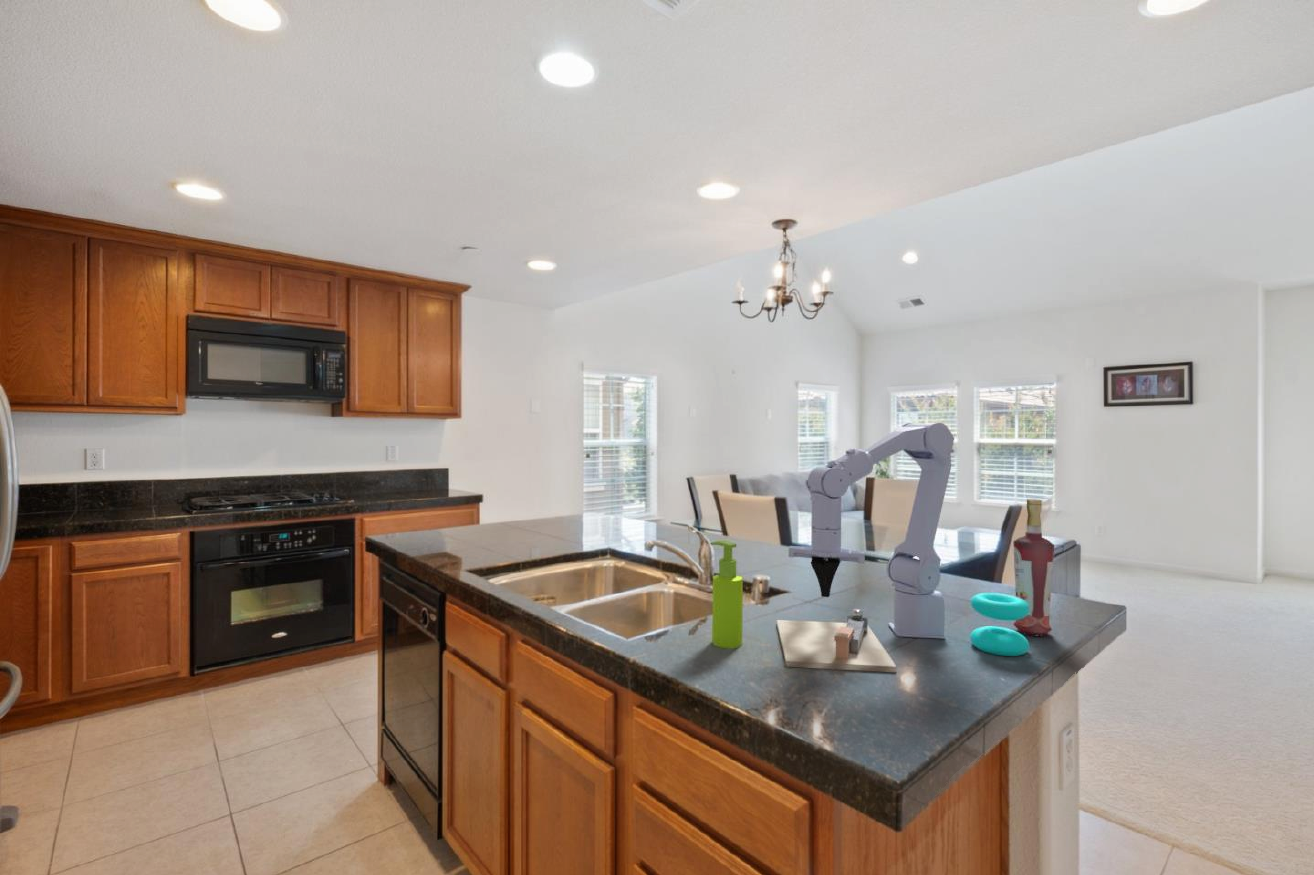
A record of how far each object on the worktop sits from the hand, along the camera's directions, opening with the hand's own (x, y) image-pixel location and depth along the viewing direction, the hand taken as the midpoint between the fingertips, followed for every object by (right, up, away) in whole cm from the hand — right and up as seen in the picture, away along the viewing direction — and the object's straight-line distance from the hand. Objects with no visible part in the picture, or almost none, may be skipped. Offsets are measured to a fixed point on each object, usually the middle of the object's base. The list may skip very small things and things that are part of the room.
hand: (825, 595), depth 123 cm
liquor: (+45, -10, +7) cm, 47 cm away
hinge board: (0, -9, -2) cm, 10 cm away
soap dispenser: (-20, -10, 0) cm, 22 cm away
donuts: (+33, -10, -3) cm, 35 cm away
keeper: (+1, -9, -9) cm, 12 cm away
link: (+5, -8, -1) cm, 10 cm away
